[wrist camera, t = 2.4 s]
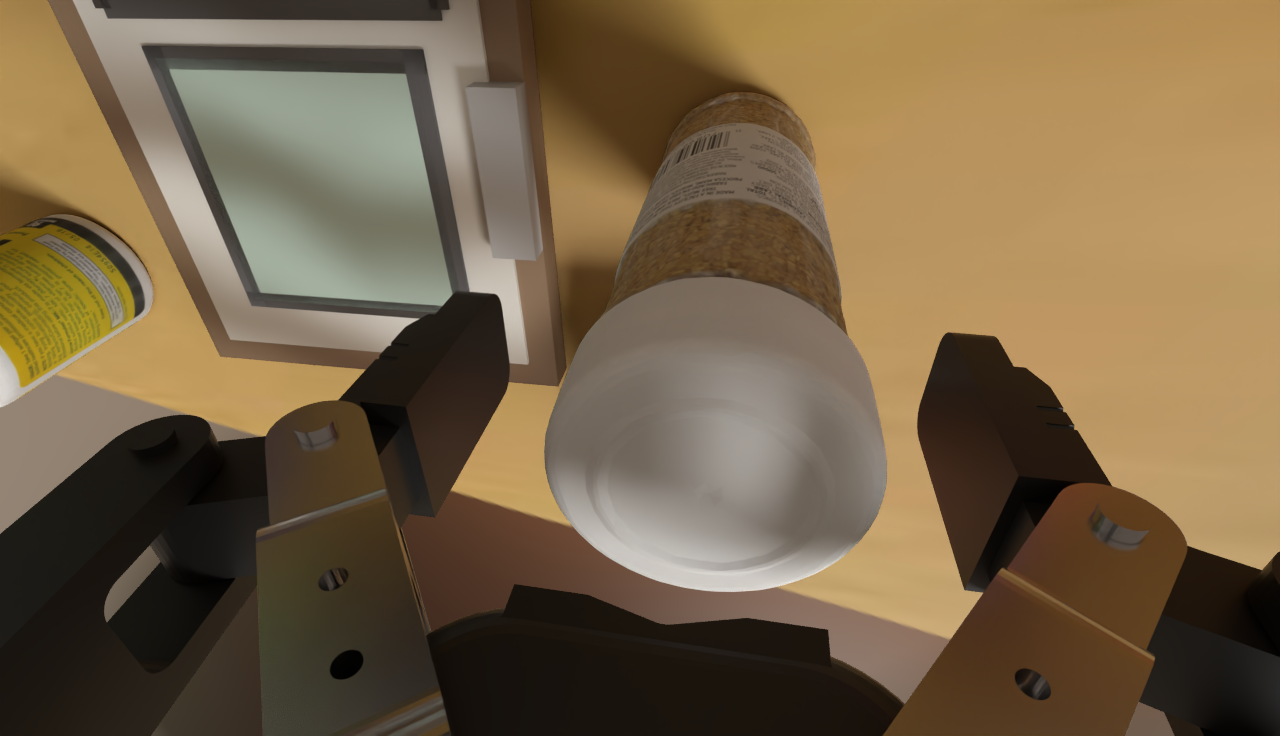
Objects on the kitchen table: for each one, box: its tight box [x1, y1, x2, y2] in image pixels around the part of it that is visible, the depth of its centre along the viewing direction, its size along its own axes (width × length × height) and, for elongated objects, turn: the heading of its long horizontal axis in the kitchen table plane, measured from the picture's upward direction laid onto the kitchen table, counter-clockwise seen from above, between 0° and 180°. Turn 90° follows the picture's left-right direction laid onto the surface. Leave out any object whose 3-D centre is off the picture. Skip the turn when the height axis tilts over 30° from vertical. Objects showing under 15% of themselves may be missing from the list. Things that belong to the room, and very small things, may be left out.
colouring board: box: [48, 0, 566, 386], centre depth 20 cm, size 16×14×2 cm
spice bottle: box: [544, 92, 887, 592], centre depth 14 cm, size 5×5×14 cm
